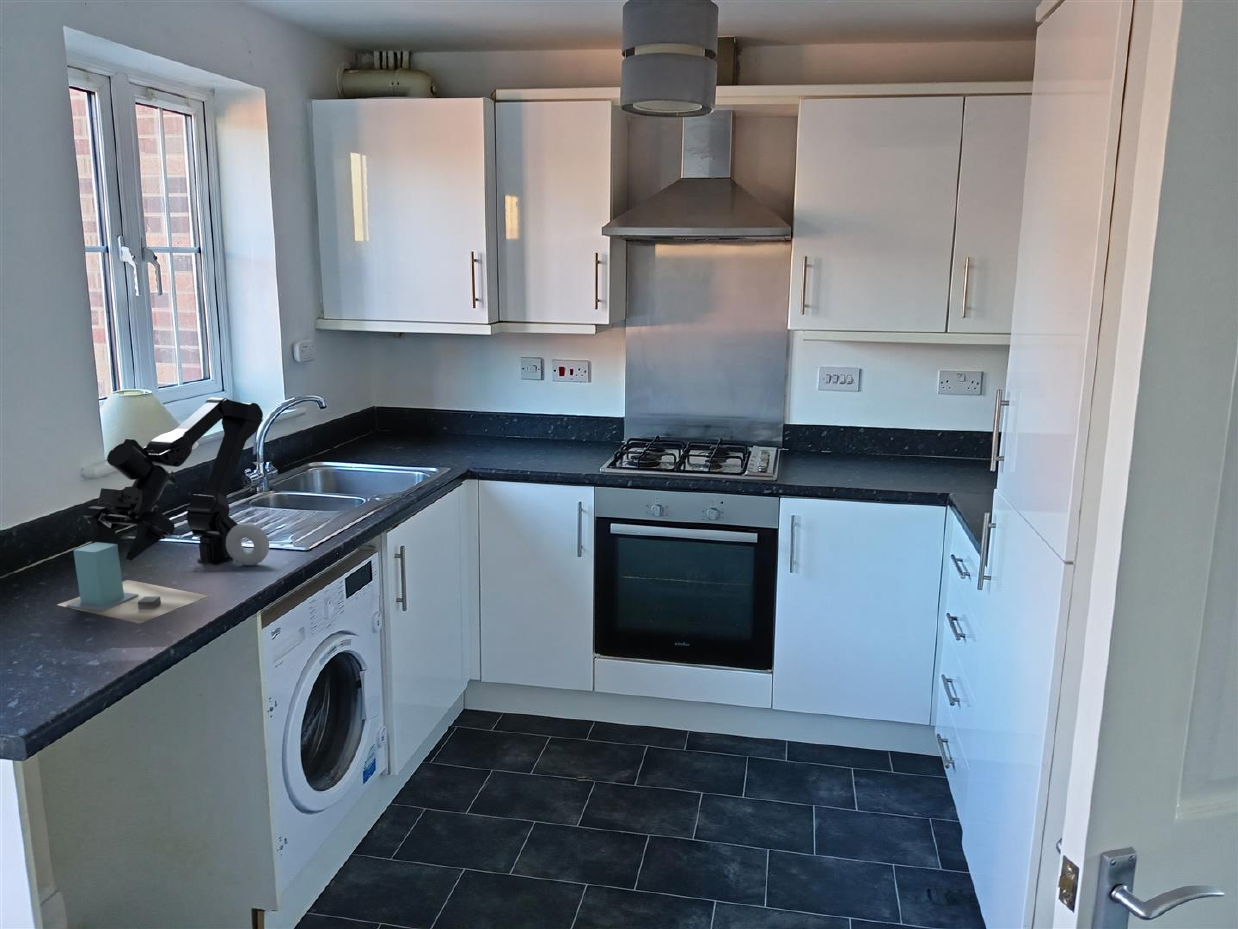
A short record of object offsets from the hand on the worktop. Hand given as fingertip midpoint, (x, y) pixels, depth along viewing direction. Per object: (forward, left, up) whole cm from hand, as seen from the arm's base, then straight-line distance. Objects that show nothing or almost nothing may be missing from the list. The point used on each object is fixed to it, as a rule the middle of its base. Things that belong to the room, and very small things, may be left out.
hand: (110, 558), depth 189 cm
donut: (-29, +6, -10) cm, 31 cm away
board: (0, +5, -10) cm, 11 cm away
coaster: (+3, 0, -8) cm, 9 cm away
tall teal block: (+3, 0, -8) cm, 8 cm away
